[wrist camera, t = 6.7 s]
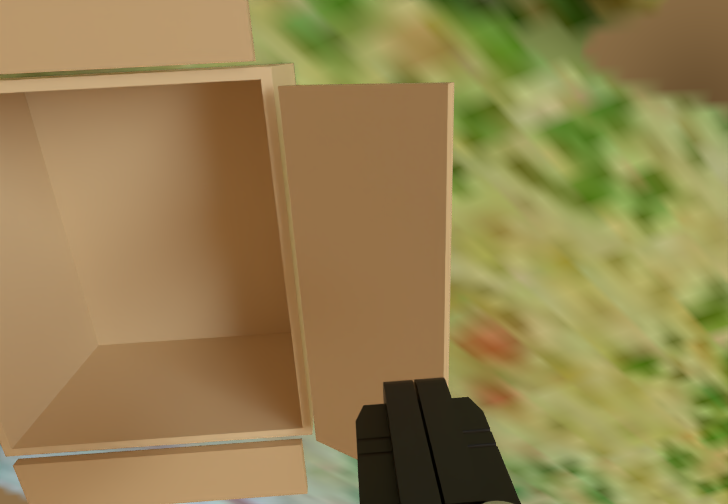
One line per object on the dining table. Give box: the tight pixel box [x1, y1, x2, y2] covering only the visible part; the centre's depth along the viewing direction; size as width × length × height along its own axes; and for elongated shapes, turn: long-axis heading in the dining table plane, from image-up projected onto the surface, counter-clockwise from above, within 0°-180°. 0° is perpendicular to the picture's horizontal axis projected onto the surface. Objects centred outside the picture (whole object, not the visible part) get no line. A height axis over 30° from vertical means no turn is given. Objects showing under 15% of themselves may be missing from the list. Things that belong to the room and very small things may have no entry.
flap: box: [278, 82, 454, 460], centre depth 17 cm, size 15×6×1 cm
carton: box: [0, 0, 314, 504], centre depth 24 cm, size 22×14×9 cm, turn 3°
